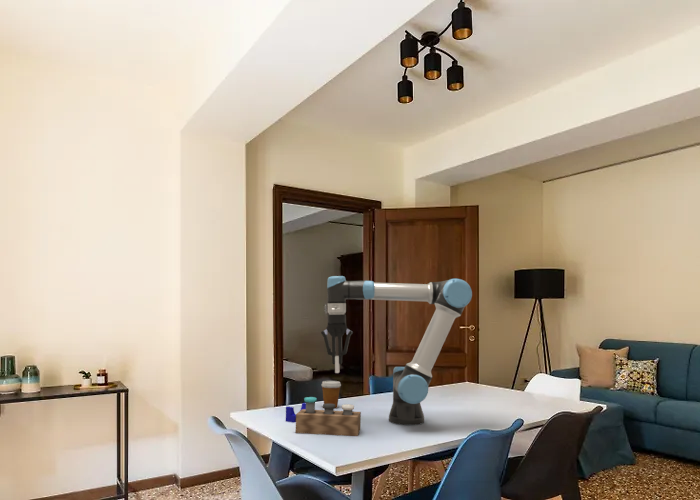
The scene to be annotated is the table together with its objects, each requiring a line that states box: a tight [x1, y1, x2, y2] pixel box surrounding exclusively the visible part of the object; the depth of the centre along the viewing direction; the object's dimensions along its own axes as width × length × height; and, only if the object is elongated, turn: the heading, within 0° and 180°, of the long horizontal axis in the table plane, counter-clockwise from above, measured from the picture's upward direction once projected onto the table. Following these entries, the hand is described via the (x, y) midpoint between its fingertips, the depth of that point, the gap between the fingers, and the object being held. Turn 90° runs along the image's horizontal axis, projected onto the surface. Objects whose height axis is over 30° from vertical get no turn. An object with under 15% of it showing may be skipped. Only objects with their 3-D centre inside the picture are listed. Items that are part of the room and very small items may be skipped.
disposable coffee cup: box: [321, 380, 342, 409], centre depth 250 cm, size 10×10×12 cm
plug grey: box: [341, 403, 355, 415], centre depth 203 cm, size 5×5×9 cm
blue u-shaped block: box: [285, 402, 306, 424], centre depth 224 cm, size 12×4×6 cm, turn 145°
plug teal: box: [303, 396, 318, 414], centre depth 205 cm, size 5×5×9 cm
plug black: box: [322, 403, 336, 414], centre depth 204 cm, size 5×5×9 cm
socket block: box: [295, 409, 362, 437], centre depth 204 cm, size 24×10×7 cm, turn 82°
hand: (337, 372), depth 211 cm, fingers closed
